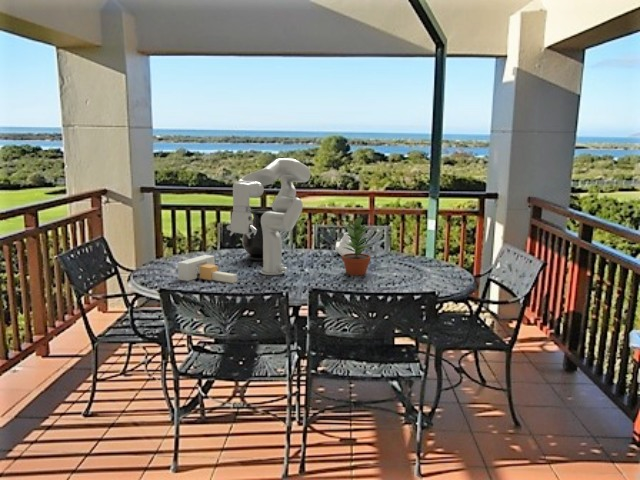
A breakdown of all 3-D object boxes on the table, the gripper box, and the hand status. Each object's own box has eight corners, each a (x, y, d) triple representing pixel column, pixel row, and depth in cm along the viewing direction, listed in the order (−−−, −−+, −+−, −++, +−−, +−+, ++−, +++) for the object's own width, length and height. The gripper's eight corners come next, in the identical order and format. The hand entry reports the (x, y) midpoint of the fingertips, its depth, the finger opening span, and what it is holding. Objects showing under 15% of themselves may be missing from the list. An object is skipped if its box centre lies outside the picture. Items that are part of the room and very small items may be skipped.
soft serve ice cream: (354, 253, 332) (360, 232, 327) (352, 261, 317) (358, 239, 313) (334, 248, 332) (340, 226, 328) (331, 255, 318) (338, 233, 314)
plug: (238, 280, 262) (238, 268, 260) (231, 283, 257) (231, 271, 256) (207, 275, 271) (206, 264, 270) (199, 278, 266) (199, 266, 265)
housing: (214, 272, 277) (214, 256, 276) (188, 280, 260) (187, 263, 259) (205, 270, 280) (205, 254, 279) (178, 279, 263) (178, 262, 261)
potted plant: (362, 268, 289) (363, 212, 284) (374, 275, 275) (376, 217, 270) (336, 270, 284) (337, 214, 278) (348, 277, 270) (349, 218, 264)
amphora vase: (275, 263, 297) (275, 213, 292) (237, 262, 300) (236, 212, 295) (283, 255, 318) (283, 208, 312) (248, 253, 321) (248, 207, 316)
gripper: (261, 209, 249) (261, 246, 253) (231, 207, 258) (232, 242, 261) (251, 211, 243) (251, 248, 246) (221, 208, 251) (222, 244, 255)
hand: (241, 245), depth 254 cm, fingers open, 9 cm apart
